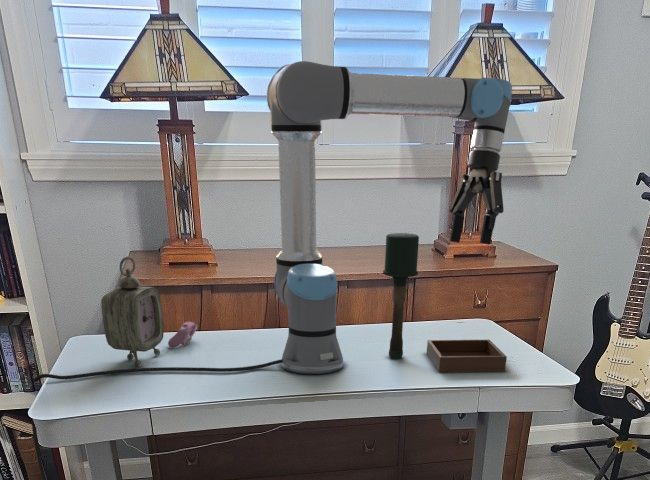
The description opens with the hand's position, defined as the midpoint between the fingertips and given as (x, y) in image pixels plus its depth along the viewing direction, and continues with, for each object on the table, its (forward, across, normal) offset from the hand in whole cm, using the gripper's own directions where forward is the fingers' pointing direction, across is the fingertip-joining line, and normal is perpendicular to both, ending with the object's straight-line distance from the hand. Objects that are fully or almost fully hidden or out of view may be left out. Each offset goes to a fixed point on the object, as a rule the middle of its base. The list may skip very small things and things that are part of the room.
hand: (469, 243), depth 181 cm
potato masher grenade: (+30, -1, +17) cm, 35 cm away
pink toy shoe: (+35, +32, +64) cm, 80 cm away
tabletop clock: (+39, +22, +78) cm, 90 cm away
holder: (+29, -11, +3) cm, 31 cm away
